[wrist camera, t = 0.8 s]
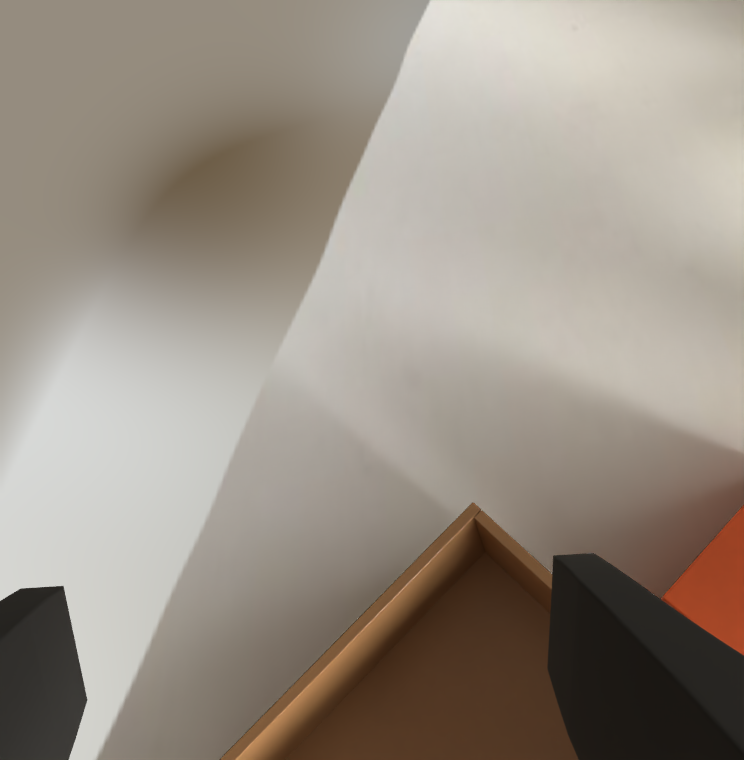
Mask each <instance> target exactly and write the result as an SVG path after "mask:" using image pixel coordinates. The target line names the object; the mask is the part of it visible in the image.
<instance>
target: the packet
mask: <svg viewBox="0 0 744 760" xmlns="http://www.w3.org/2000/svg"><path fill="white" fill-rule="evenodd" d="M661 600H662V601H664V602H665V603H667V604H668V605H669V606H671V607H672V608H674V609H675V610H677V611H678V612H679V613H681V614H682V615H684V616H685V617H687V618H688V619H690V620H691V621H693V622H694V623H695V624H697V625H698V626H700V627H701V628H703V629H704V630H706V631H707V632H709V633H710V634H712V635H713V636H715V637H716V638H718V639H719V640H721V641H722V642H724V643H725V644H727V645H729V646H730V647H732V648H733V649H735V650H736V651H738V652H739V653H741V654H742V655H744V505H743V506H742V507H741V508H740V509H739V511H738V512H737V513H736V514H735V515H734V516H733V517H732V519H731V520H730V521H729V522H728V523H727V524H726V525H725V526H724V528H723V529H722V530H721V531H720V532H719V533H718V534H717V535H716V537H715V538H714V539H713V540H712V541H711V542H710V543H709V545H708V546H707V547H706V548H705V549H704V550H703V551H702V552H701V554H700V555H699V556H698V557H697V558H696V559H695V560H694V562H693V563H692V564H691V565H690V566H689V567H688V568H687V569H686V571H685V572H684V573H683V574H682V575H681V576H680V577H679V578H678V580H677V581H676V582H675V583H674V584H673V585H672V586H671V588H670V589H669V590H668V591H667V592H666V593H665V594H664V595H663V597H662V598H661Z"/></svg>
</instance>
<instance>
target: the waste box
mask: <svg viewBox="0 0 744 760" xmlns="http://www.w3.org/2000/svg"><path fill="white" fill-rule="evenodd" d="M551 592H552V574H551V573H550V572H549V571H548V570H547V569H546V568H545V567H544V566H542V565H541V564H540V563H539V562H538V561H537V560H536V559H535V558H534V557H533V556H532V555H530V554H529V553H528V552H527V551H526V550H525V549H524V548H523V547H522V546H521V545H520V544H518V543H517V542H516V541H515V540H514V539H513V538H512V537H511V536H510V535H509V534H507V533H506V532H505V531H504V530H503V529H502V528H501V527H500V526H499V525H498V524H497V523H495V522H494V521H493V520H492V519H491V518H490V517H489V516H488V515H487V514H486V513H485V512H483V511H482V510H481V509H480V508H479V507H478V506H477V505H476V504H475V503H472V504H471V505H470V506H469V507H468V508H467V509H466V510H465V511H464V512H463V513H462V514H461V515H460V516H459V517H458V518H457V519H456V520H455V521H454V522H453V523H452V524H451V525H450V526H449V527H448V528H447V529H446V530H445V531H444V532H443V533H442V534H441V535H440V536H439V537H438V538H437V539H436V540H435V541H434V542H433V543H432V544H431V545H430V546H429V547H428V548H427V549H426V550H425V551H424V552H423V553H422V554H421V555H420V556H419V557H418V558H417V559H416V560H415V561H414V562H413V563H412V564H411V565H410V567H409V568H408V569H407V570H406V571H405V572H404V573H403V574H402V575H401V576H400V577H399V578H398V579H397V580H396V581H395V582H394V583H393V584H392V585H391V586H390V587H389V588H388V589H387V590H386V591H385V592H384V593H383V594H382V595H381V596H380V597H379V598H378V599H377V600H376V601H375V602H374V603H373V604H372V605H371V606H370V607H369V608H368V609H367V610H366V611H365V612H364V613H363V614H362V615H361V616H360V617H359V618H358V619H357V620H356V621H355V622H354V623H353V624H352V625H351V626H350V627H349V628H348V630H347V631H346V632H345V633H344V634H343V635H342V636H341V637H340V638H339V639H338V640H337V641H336V642H335V643H334V644H333V645H332V646H331V647H330V648H329V649H328V650H327V651H326V652H325V653H324V654H323V655H322V656H321V657H320V658H319V659H318V660H317V661H316V662H315V663H314V664H313V665H312V666H311V667H310V668H309V669H308V670H307V671H306V672H305V673H304V674H303V675H302V676H301V677H300V678H299V679H298V680H297V681H296V682H295V683H294V684H293V685H292V686H291V687H290V688H289V689H288V690H287V691H286V693H285V694H284V695H283V696H282V697H281V698H280V699H279V700H278V701H277V702H276V703H275V704H274V705H273V706H272V707H271V708H270V709H269V710H268V711H267V712H266V713H265V714H264V715H263V716H262V717H261V718H260V719H259V720H258V721H257V722H256V723H255V724H254V725H253V726H252V727H251V728H250V729H249V730H248V731H247V732H246V733H245V734H244V735H243V736H242V737H241V738H240V739H239V740H238V741H237V742H236V743H235V744H234V745H233V746H232V747H231V748H230V749H229V750H228V751H227V752H226V753H225V754H224V756H223V757H222V758H221V759H220V760H579V759H578V757H577V755H576V752H575V750H574V748H573V745H572V743H571V741H570V738H569V736H568V733H567V730H566V727H565V724H564V721H563V718H562V715H561V712H560V709H559V706H558V702H557V699H556V696H555V692H554V689H553V686H552V682H551V679H550V676H549V672H548V669H547V665H548V647H549V628H550V610H551Z"/></svg>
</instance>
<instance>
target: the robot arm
mask: <svg viewBox="0 0 744 760" xmlns="http://www.w3.org/2000/svg"><path fill="white" fill-rule="evenodd" d="M547 669H548V672H549V676H550V679H551V682H552V686H553V689H554V692H555V696H556V699H557V702H558V706H559V709H560V712H561V715H562V718H563V721H564V724H565V727H566V730H567V733H568V736H569V738H570V741H571V743H572V745H573V748H574V750H575V752H576V755H577V757H578V759H579V760H744V655H742V654H741V653H739V652H738V651H736V650H735V649H733V648H732V647H730V646H729V645H727V644H725V643H724V642H722V641H721V640H719V639H718V638H716V637H715V636H713V635H712V634H710V633H709V632H707V631H706V630H704V629H703V628H701V627H700V626H698V625H697V624H695V623H694V622H693V621H691V620H690V619H688V618H687V617H685V616H684V615H682V614H681V613H679V612H678V611H677V610H675V609H674V608H672V607H671V606H669V605H668V604H667V603H665V602H664V601H662V600H661V599H659V598H658V597H657V596H655V595H654V594H652V593H651V592H650V591H648V590H647V589H645V588H644V587H643V586H641V585H640V584H638V583H637V582H635V581H634V580H633V579H631V578H630V577H628V576H627V575H626V574H624V573H623V572H621V571H620V570H618V569H617V568H616V567H614V566H613V565H611V564H610V563H608V562H607V561H605V560H604V559H602V558H601V557H599V556H597V555H596V554H594V553H589V554H573V555H557V556H553V573H552V592H551V610H550V628H549V647H548V665H547ZM86 702H87V697H86V692H85V687H84V682H83V678H82V673H81V668H80V663H79V659H78V654H77V649H76V644H75V639H74V635H73V630H72V625H71V620H70V616H69V611H68V606H67V601H66V596H65V592H64V587H63V586H56V587H40V588H25V589H19V590H18V591H16V592H14V593H13V594H11V595H9V596H8V597H6V598H5V599H3V600H1V601H0V760H68V759H69V756H70V753H71V751H72V748H73V744H74V742H75V739H76V735H77V732H78V729H79V725H80V722H81V719H82V716H83V712H84V709H85V705H86Z"/></svg>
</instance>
